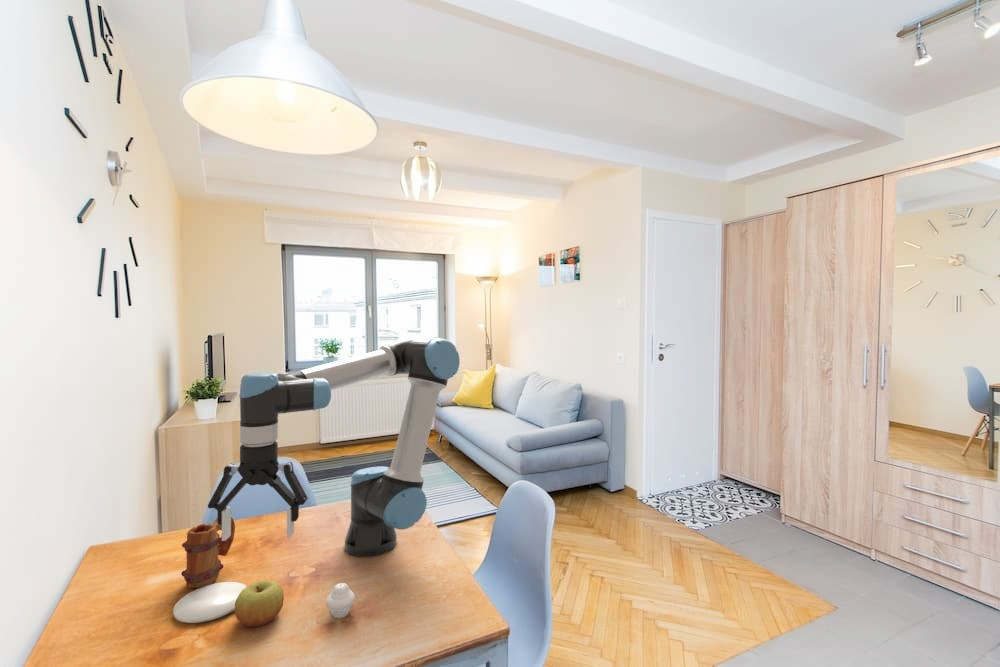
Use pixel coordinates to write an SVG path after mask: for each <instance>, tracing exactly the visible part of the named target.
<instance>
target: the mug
mask: <svg viewBox="0 0 1000 667" xmlns="http://www.w3.org/2000/svg"><path fill="white" fill-rule="evenodd" d="M235 530H236V525H235V520H234V518H233V516H231V536H230V537H229V538H228V539H227V540H226V541H222V534H221V536H220V534H219V533H218V531H222V525H218V516H217V517H216V518H215V520H214V521H213V522H212V523H207V524H205V523H203V524H198V525H197V526H194V527H192V528H190V529H188V532H187V533H186V541H184V542H183V543H182V544H181V546H182V548H184V551H185V552H186V556H185V557H186V569H185V570H183V571H181V574H180V575H181V577H184V578H183V579H184V581H185V582H186V586H187V587H188V588H196V589H199V588H202V587H204V586H208V585H211V584H214V583H215V582H216V580H218V578H219V576H220V572H221V570H223V568H224V564H222V561H221V560H220V559H219V556H223V557H226V556H227V555H228V553H229V550H230V548H231V546H232V544H233V542H234V537H235V532H236V531H235Z"/></svg>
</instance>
